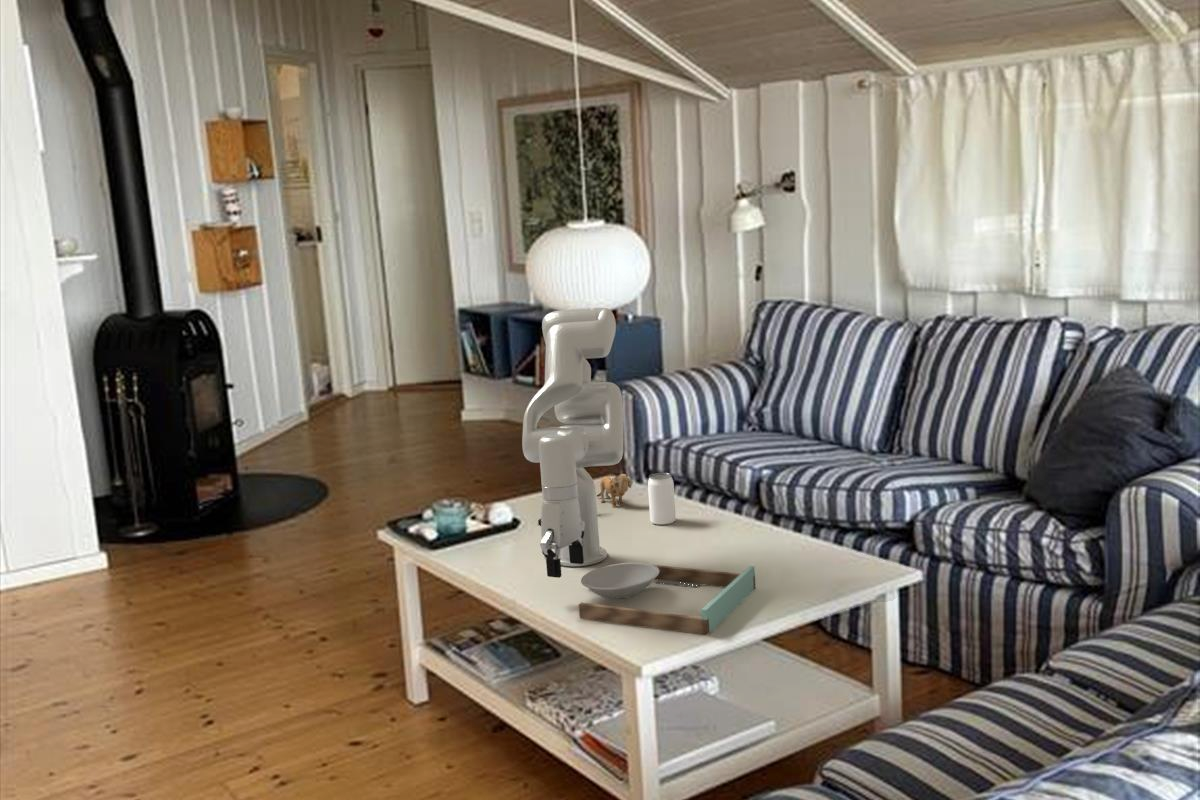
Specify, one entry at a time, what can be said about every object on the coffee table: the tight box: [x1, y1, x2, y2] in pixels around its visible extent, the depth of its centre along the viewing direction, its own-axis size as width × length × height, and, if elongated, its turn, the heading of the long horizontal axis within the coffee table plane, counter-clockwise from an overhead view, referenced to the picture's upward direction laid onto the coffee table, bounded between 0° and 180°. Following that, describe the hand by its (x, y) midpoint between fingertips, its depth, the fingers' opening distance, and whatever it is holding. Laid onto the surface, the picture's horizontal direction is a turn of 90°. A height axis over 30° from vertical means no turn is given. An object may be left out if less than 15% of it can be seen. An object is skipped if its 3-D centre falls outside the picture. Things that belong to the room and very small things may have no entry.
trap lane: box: [578, 563, 756, 635], centre depth 250 cm, size 28×26×5 cm
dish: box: [580, 562, 659, 600], centre depth 255 cm, size 18×14×5 cm
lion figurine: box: [596, 473, 634, 509], centre depth 325 cm, size 15×5×9 cm, turn 36°
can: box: [647, 472, 677, 526], centre depth 305 cm, size 6×6×12 cm
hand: (565, 569), depth 260 cm, fingers open, 9 cm apart
